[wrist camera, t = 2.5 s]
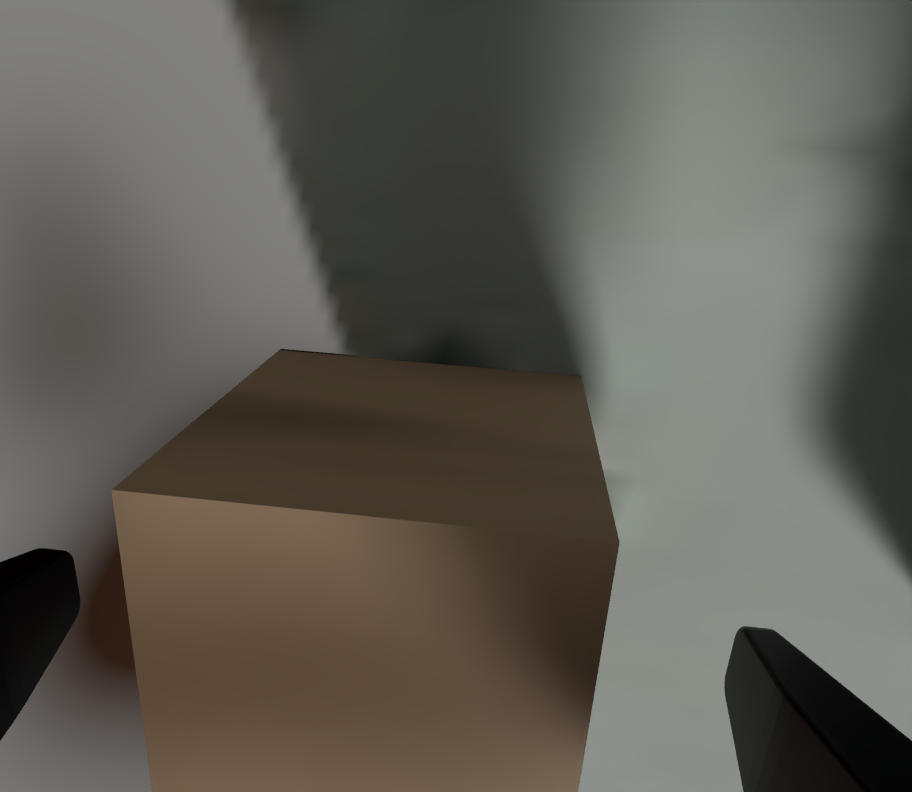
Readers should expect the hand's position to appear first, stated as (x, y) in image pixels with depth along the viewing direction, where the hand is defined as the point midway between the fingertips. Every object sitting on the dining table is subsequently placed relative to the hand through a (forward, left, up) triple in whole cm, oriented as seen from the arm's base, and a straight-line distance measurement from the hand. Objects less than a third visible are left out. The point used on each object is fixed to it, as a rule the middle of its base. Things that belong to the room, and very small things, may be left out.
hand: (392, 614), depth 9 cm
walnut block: (0, 0, -3) cm, 3 cm away
